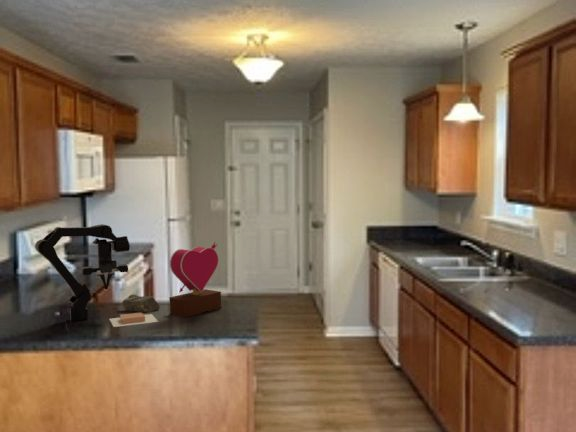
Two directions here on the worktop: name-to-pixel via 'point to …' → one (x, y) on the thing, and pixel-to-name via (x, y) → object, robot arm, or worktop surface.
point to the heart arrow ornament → (194, 281)
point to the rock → (140, 303)
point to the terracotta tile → (132, 318)
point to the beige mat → (148, 319)
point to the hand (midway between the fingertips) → (106, 289)
